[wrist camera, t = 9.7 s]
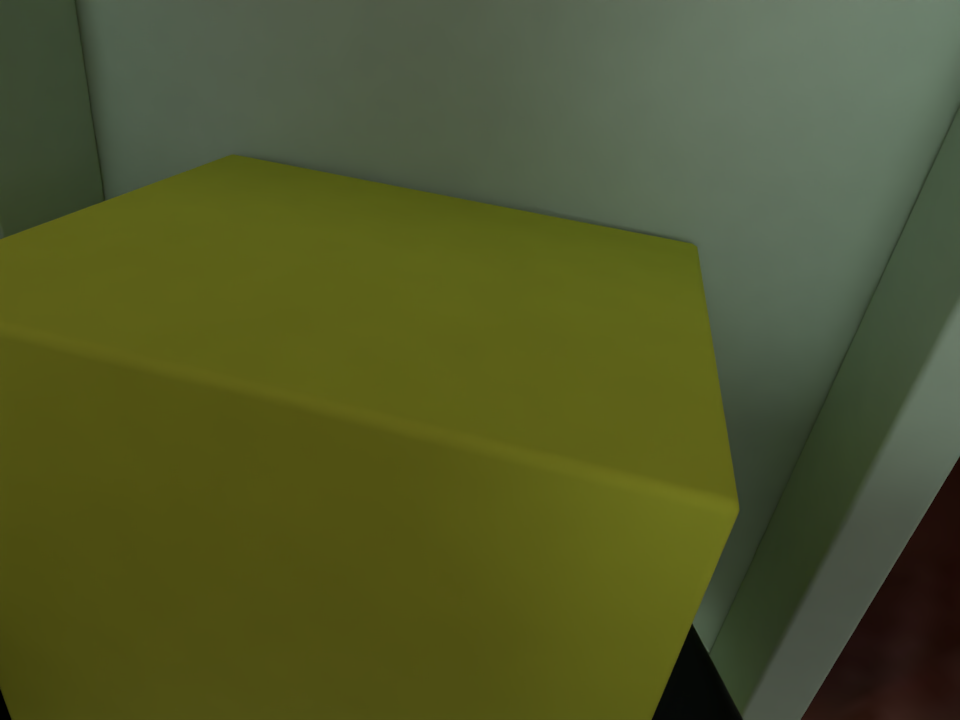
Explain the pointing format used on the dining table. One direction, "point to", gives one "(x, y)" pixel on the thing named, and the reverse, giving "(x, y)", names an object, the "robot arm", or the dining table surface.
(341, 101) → the pan
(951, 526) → the dining table surface
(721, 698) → the robot arm
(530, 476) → the sponge
